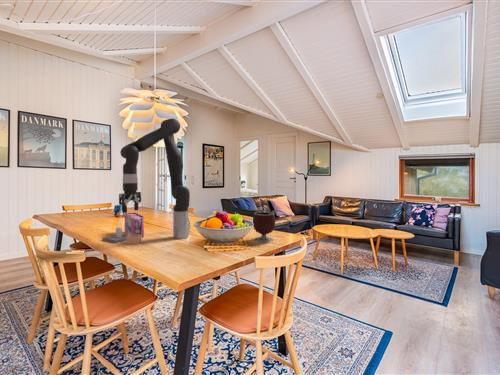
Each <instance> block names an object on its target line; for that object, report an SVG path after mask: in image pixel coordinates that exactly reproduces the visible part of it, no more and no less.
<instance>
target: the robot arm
mask: <svg viewBox="0 0 500 375" xmlns="http://www.w3.org/2000/svg"><path fill="white" fill-rule="evenodd" d="M180 130H181V123H180V121H179V120H177V119H176V118H168V119H165V120H162V122H161V123H160V127H159V128H157V129H155V130H153V131H151V132H149V133H146V134H144V135H143V136H142V137H140V138H138V139H136V140H135V141H132V142H131V143H129V144H126V145H125V146H123V147H121V149H120V156H121V157H122V158H123V159H125V163H124V164H122V191H123V193H119V194H118V205H119V206H122V207H121V209H122V213H124V214H126V213H128V203H129V202H130V201H132V202H133V209H134V211H139V208H140V207H139V204H140V203H141V202H142V194H141V193H142V192H141V191H138V190H139V189H138V168H137V167H138V166H137V165H138V163H139V156H140V154H139V153H141V152H144V151H146V150H147V149H149V148H151V147H153V146H154V145H156V144H157V143H159V142H161V141H162V140H163V143H164V149H165V154H166V159H167V160H166V162H167V166H168V172H169V177H170V188H171V189H170V190H171V192H170V193H171V196H172V198H173V199H175V205H174V206H173V209H172V211H173V212H172V213H173V215H172V217H173V219H172V220H173V222H172V224H173V225H172V229H173V230H172V237H173V239H176V240H177V239H179V240H182V239H186V238H189V237H190V222H189V207H190V197H191V195H190V189H189V188H188V187H187V186H184V185H183V184H184V183H183V181H182V174H183V168H184V162H183V156H182V152H181V151H180V148H178V146H177V143H176V141H175V134H177V133H178V132H179V131H180Z"/></svg>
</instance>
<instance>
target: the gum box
mask: <svg viewBox="0 0 500 375" xmlns="http://www.w3.org/2000/svg"><path fill="white" fill-rule="evenodd" d="M123 216H124V233H125V235H129V234H141V239H142V238H145V230H144V229H145V228H144V227H145V223H144V222H145V221H144V219H145V217H144V216H143V215H140V214H139V213H137V212H126V213H124V215H123Z"/></svg>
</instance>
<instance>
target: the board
mask: <svg viewBox="0 0 500 375" xmlns="http://www.w3.org/2000/svg"><path fill="white" fill-rule="evenodd" d="M126 236H127V234H126V233H125V234H124V233H123V228H122V226H116V227H115V234H114V235H109V236H105V237H102V241H105V242H109V243H114V244H118V243H123V242H126Z"/></svg>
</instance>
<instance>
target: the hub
mask: <svg viewBox="0 0 500 375" xmlns="http://www.w3.org/2000/svg"><path fill="white" fill-rule="evenodd" d="M126 235H127V234H126ZM125 242H126V243H125V244H127V245H131V244H132V245H134V244H135V245H138V244H141V242H142V238H141V234H129V235H127V236H126V241H125Z"/></svg>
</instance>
